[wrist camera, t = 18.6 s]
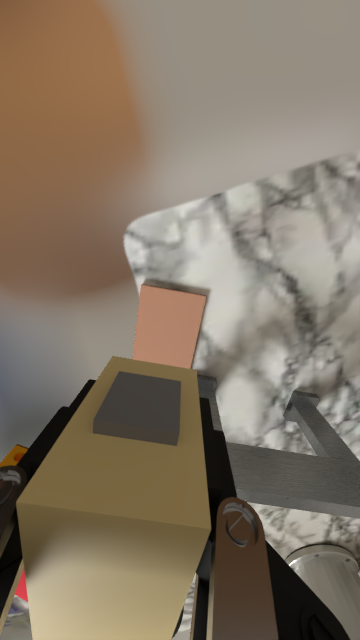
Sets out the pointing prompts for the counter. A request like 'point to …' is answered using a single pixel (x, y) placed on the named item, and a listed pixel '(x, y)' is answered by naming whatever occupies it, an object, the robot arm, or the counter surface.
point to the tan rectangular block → (118, 509)
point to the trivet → (167, 326)
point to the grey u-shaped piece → (295, 463)
